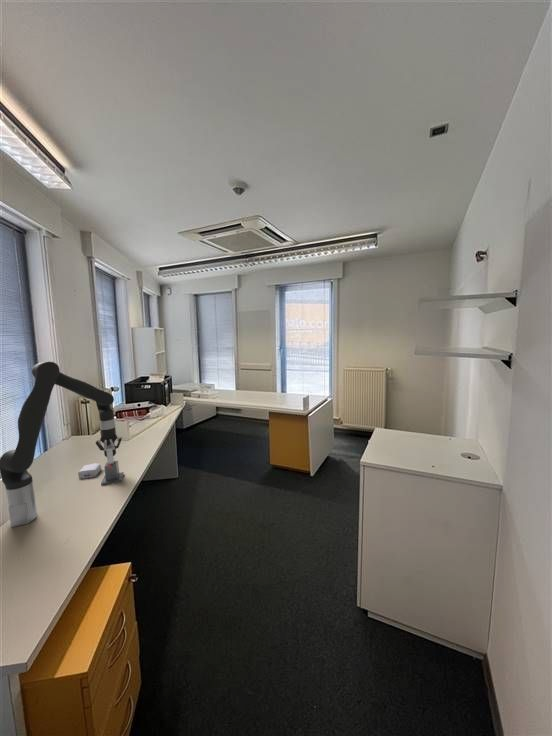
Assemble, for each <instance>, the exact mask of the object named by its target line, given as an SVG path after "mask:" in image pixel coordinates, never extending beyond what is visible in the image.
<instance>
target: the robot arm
mask: <svg viewBox="0 0 552 736" xmlns="http://www.w3.org/2000/svg"><path fill="white" fill-rule="evenodd" d="M31 374H32V376H33V377H34V378H35V381H34V385H33V388H32V390H31V392H30V393H29V395H28V396H27V397H26V400H25V401H24V402H23V404H22V407H21V410H20V413H19V416H18V418H17V429H18V441H17V445H16V447H15V449H10V450H8V451H6V452H4V453H3V454H2V455H1V456H0V477H1V481H2V483H3V484H4V487H5V491H6V499H7V507H8V513H9V521H10V526H11V528H15V527H19V526H24V525H27V524H29V523H31V522H32V521H34V520H35V519H37V517H38V510H37V503H36V496H35V489H34V481H33V476H32V475H31V473H30V472H29V471H28V469H30V468H31V466H32V464H33V462H34V459H35V453H36V448H37V442H38V439H39V437H40V432H41V429H42V425H43V422H44V420H45V416H46V414H47V411H48V406H49V403H50V399H51V395H52V391H53V389H54V387H55V385H56V386H59V387H62V388H64V389H66V390H69V392H72V393H75V394H77V395H79V396H82V397H83V398H86V399H89V400H92V401H94V402H95V404H96V407H97V410H98V417H99V430H100V439H97V440H96V441H95V444H96V446H97V448H98V449H99V450H100V451H103V452H104V457H106V458H107V452H106V446H107V445H109V444H111V446H112V448H113V456H114V457H115V456H116V455H117V449H119V447H120V445H121V442H122V440H123V437H121V436H120V437H119V436H118V435H117V432H116V430H117V429H116V422H115V421H116V420H115V417H114V416H115V415H114V411H113V408H111V405H113V403H115V398H114V396H113V395H112V394H111V393H109V392H107V391H104V390H102V389H99V388H98V387H96V386H94V385H92V384H91V383H90V384H89V383H88V382H85V381H84V380H81V379H78V378H77V379H76V377H72V376H68V375H66V374H64V373H62V372H61V371H60V366H59V365H58V364H57V362H54V361H50V360H48V361H43V362H41V361H40V362H39V363H35V365H34V366H33V367H32V368H31ZM116 441H117V443H115V442H116ZM101 443H103V445H102V444H101Z"/></svg>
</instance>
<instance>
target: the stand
mask: <svg viewBox="0 0 552 736" xmlns="http://www.w3.org/2000/svg"><path fill="white" fill-rule="evenodd" d="M104 474H105V475H104V476H103V479H102V481H101V482H100V484H101V485H100V486H102V485H103V486H106V485H107V484H108V485H112V483H114V484H118V482H119V483H122V480H123V479H124V476H125V473H124V471H122V472H120V467H119V461H118V460H115V464H113V465H108V461H107V462H106V463H105V464H104Z"/></svg>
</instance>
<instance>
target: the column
mask: <svg viewBox="0 0 552 736" xmlns="http://www.w3.org/2000/svg"><path fill="white" fill-rule="evenodd" d="M106 452H107V457H106V459H107V460H106V461H107V462H108V465H113V464H115V461H116V459H115V456H113V448H112V446H111V444H109V445H107V446H106Z"/></svg>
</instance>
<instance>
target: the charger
mask: <svg viewBox="0 0 552 736" xmlns="http://www.w3.org/2000/svg"><path fill="white" fill-rule="evenodd" d="M101 465H102V464H101V463H98V462H97V463H95V462H94V463H91V464H85V465H84V466H82V468H81V469H80V470H79V471H78V473H77V474H78V479H80V480H81V478H82V479H87V478H88V477H89V478H95V477H97V475H98V474H99V473H100V472H101V469H102V466H101ZM94 476H95V477H94ZM89 478H88V479H89Z"/></svg>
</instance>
